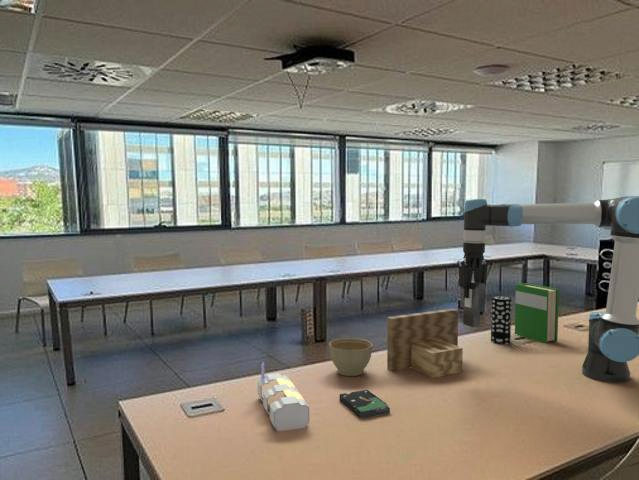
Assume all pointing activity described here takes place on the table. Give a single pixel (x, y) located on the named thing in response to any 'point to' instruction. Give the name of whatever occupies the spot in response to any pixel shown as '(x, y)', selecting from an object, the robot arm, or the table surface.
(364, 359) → the planter bowl
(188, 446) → the table surface
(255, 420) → the table surface
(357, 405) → the disk drive
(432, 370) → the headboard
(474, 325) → the grey slab
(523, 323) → the hardback book
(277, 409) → the white yellow segmented bar
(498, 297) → the spotted tube
